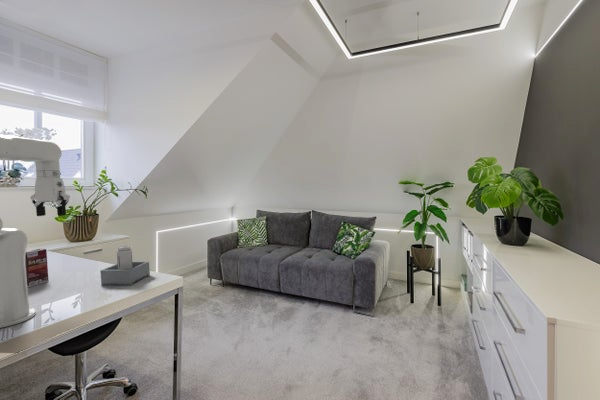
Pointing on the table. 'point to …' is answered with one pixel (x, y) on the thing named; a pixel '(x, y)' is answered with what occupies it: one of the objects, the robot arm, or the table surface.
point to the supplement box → (36, 267)
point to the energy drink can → (124, 258)
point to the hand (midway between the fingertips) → (51, 215)
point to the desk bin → (124, 274)
